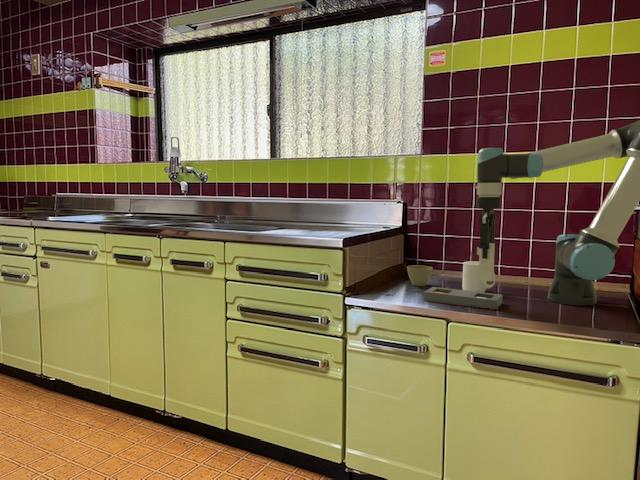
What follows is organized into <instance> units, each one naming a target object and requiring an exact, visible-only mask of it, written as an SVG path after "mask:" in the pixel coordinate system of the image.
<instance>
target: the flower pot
mask: <svg viewBox="0 0 640 480" xmlns="http://www.w3.org/2000/svg"><path fill="white" fill-rule="evenodd" d="M406 270H407V274H408V278H409V280H410V282H411V284H412V285H413V286H416V287H425V286H426V285H427V284H428V283H429V280H430V279H431V276H432V273H433V270H434V269H433V266H428V265H408V266H406Z"/></svg>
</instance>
